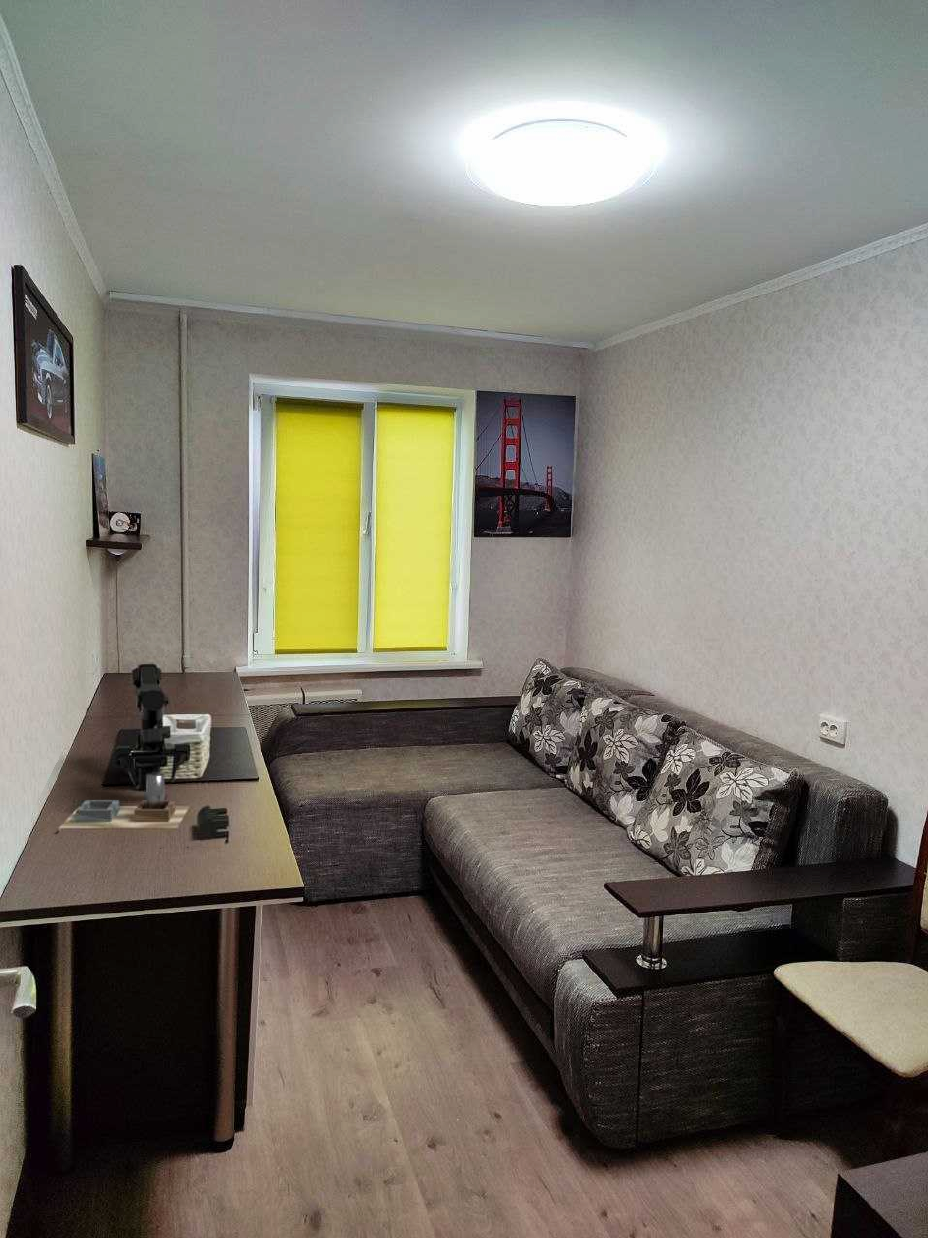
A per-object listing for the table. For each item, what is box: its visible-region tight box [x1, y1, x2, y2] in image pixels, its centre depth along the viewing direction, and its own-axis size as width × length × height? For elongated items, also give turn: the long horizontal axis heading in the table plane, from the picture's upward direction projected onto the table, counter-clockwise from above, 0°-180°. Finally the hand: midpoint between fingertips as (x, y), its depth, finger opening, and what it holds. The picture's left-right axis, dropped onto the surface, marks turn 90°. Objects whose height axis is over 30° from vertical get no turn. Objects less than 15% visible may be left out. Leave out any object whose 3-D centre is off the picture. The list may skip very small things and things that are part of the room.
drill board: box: [58, 799, 190, 833], centre depth 226 cm, size 16×28×4 cm, turn 97°
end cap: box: [196, 805, 230, 844], centre depth 218 cm, size 10×7×7 cm
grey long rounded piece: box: [145, 772, 165, 809], centre depth 226 cm, size 4×4×11 cm
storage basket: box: [160, 713, 212, 780], centre depth 272 cm, size 24×16×15 cm
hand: (153, 783), depth 231 cm, fingers open, 9 cm apart
